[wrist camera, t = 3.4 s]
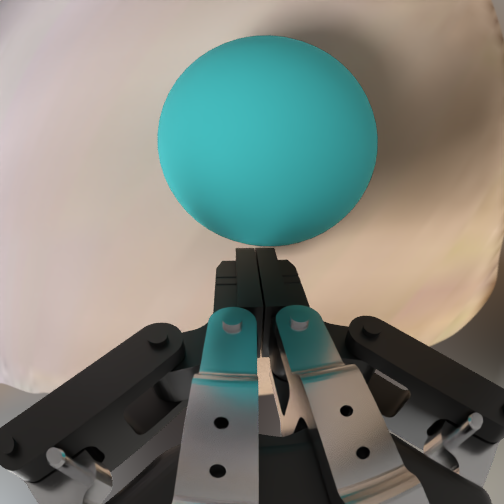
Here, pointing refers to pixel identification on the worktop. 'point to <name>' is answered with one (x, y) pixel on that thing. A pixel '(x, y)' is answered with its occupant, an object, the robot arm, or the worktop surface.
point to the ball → (267, 140)
